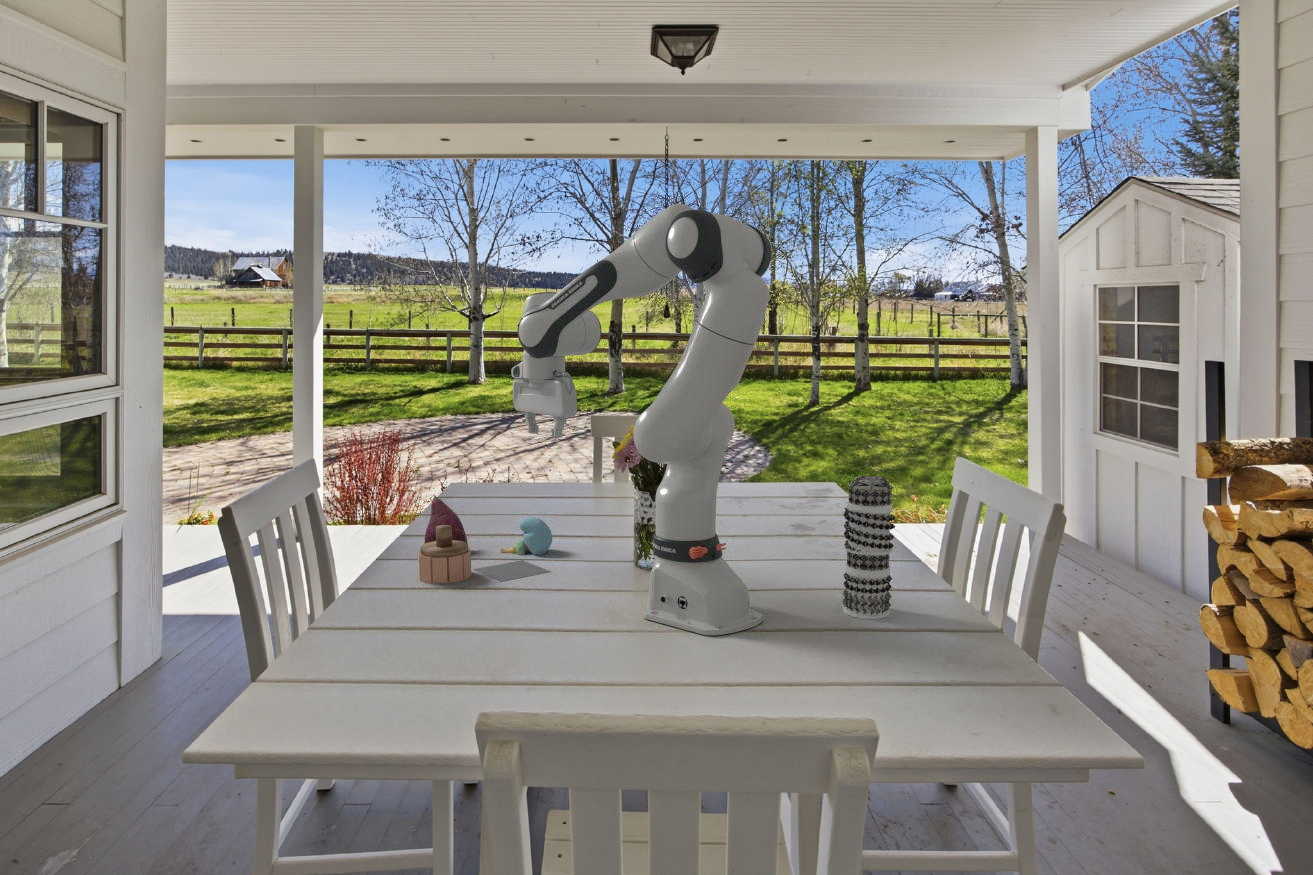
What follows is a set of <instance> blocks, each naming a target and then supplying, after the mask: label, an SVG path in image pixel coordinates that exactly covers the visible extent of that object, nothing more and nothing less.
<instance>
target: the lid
mask: <svg viewBox="0 0 1313 875" xmlns="http://www.w3.org/2000/svg"><path fill="white" fill-rule="evenodd" d="M424 543H425V542H424ZM424 543H423V544H421V545H420V546H419V547H420V550H419V551H420V553H421V554H422V555H424V556H428V557H452V556H458V555H462V554H465V553H466V552H468V548H469V542H468V543H466V542H463V541H456V540H452V526H450V525H440V526H436V541H434V542H429V543H425V544H424Z"/></svg>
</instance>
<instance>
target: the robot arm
mask: <svg viewBox="0 0 1313 875" xmlns="http://www.w3.org/2000/svg"><path fill="white" fill-rule="evenodd" d="M772 251H773V249H772V245H771V242H770V240H769V238H768V237H767V236H766V235H765V233H764V232H762V231H761V230H760V229H758V228H757V227H755V226H754V225H750V224H746V223H743V222H742V221H739V220H737V219H735V218H733V217H731V216H730V215H725V214H721V213H716V212H710V211H707V210H705V209H694V208H693V207H691V206H690V205H687V204H684V203H675V204H671V205H670V206H668V207H666V208H664V209H663V210H661V211H660V212H658V213H657V214H656V215H654V216H653V217H652V218H650V219H649V220H648V221H646V222H645V223H644V224H643V225H642V226H640V227H639V229H637V231H635V232H634V233H633V234H632V235H631V236H630V237H628V239H627V240H626V241H624V242H623V243H622V244H621V245H620V246H619V247H617V248H616V249H614V251H612V252H610V253H609V254H608V255H607V256H605V257H604V258H602V259H601V260H599V261H597V262H596V263H594V264H593V265H591V266H590V267H588V268H587V269H585V270H584V271H583V272H581V273H580V274H579V275H578V276H576V277H575V278H574V279H573V280H572V281H570V282H569V283H568V284H566V285H565V286H564V287H563V288H561V289H560V290H559V291H557V292H556V291H544V292H536V293H535V292H534V293H533V294H531V295H528V296H527V297H526V299H525V300H524V304H523V310H522V316H521V317H520V319H519V322H518V325H517V339H518V342H519V344H520V346H521V347H522V349H523V352H522V361H521V362H519V363H518V364H516V365H514V366H513V367H512V368H511V370H510V371H511V377H512V378H514V379H513V381H512V403H513V406H514V409H515V411H517V412H523V413H524V419H525V421H526V424H527V432H528V434H533V435H535V434H538V433H539V432H540V431H539V428H540V427H539V424H537V420H536V417H537V414H538V415H545V416H551V417H553V422H554V424H553V425H554V426H553V428H551V437H552V438H555V439H559V438H563V429H564V426H565V424H566V422H567V418H572V417H575V416H576V415H577V414H578V399H577V390H576V389H577V388H576V386H575V383H574V381H573V377H572V376H571V375H570V372H568V371H566V357H569V356H570V357H571V356H585V355H587V354H591V353H593V352H594V351H595V350H596V349H597V348H598V346H599V345H600V342H601V340H602V339H601V338H602V333H603V332H602V325H601V321H600V319H599V318H598V316H597V315H596V313H595V312H593V311H592V309H593V308H596V306H599V305H601V304H603V303H606V302H610V301H614V300H621V299H629V298H630V299H631V298H639V297H646V296H649V295H651V294H653V293H656V292H657V291H659V290H661V289H662V288H663V287H665V286H667V285H668V284H669V283H670V282H671V281H672V280H674V279H675V278H676V276H678V275H679V274H680V273H681V272H683V273H684V274H685V275H686V277H687V278H688V279H689V280H690V281H691V282H692V283H693V284H701V283H703V285H704V288H705V298H704V301H703V304H702V307H701V309H700V311H699V313H698V316H697V319H696V321H695V324H694V325H693V326H694V327H693V328H692V331H691V333H690V337H689V338H688V341H687V342H686V346H685V348H684V351H683V354H682V355H681V358H680V359H679V361H678V363H677V365H676V367H675V368H674V370H673V372H672V374H671V375H670V376H669V378H668V379H667V380H666V382H665V384H664V385H663V387H662V388H661V390H660V391H659V393H658V395H657V396H656V398H655V399H654V400H653V401H652V403H651V404H650V405H649V406H648V407H647V408H646V409H645V410H644V411H643V412H642V413H640V415H639V416H638V417H637V419H636V420H635V423H634V425H633V429H632V430H633V431H632V434H633V436H632V438H633V441H634V442H633V443H634V445H635V448H636V449H637V452H638V453H639V454H640V455H641V456H642V457H643V458H645V459H646V460H648V461H650V462H652V463H656V464H662V465H666V469H665V472H664V475H663V478H662V480H661V482H660V484H659V485H658V487H657V489H656V493H655V533H653V535H652V536H653V537H652V539H653V540H652V553H653V555H654V561H653V564H652V565H653V566H652V569H651V571H650V576H649V578H650V579H649V587H648V588H649V589H648V597H647V604H646V609H644V611H643V619H645V620H649V621H653V622H656V623H659V624H664V625H667V626H671V627H674V628H677V629H682V630H686V631H689V632H692V633H697V634H700V635H704V636H722V635H727V634H734V633H737V632H741V631H744V630H745V631H746V630H747V629H750V628H755V627H756V626H758V625H759V624H761V623H762V622H763V621H764V616H763V614H762V613H760V612H759V611H756V610H754V609H753V608H751V606H750V595H749V589H748V587H747V585H746V583H745V582H743V578H742V579H741V577H739V576H738V574H736V572H735V570H733V569H732V567H731V566H730V565H729V564H728V563H727V561H726V560H725V558H724V557H723V556H724V555H723V550H727V547H724V546H726V545H727V543H726V542H724V543H720V538H719V536H718V534H717V533H716V531H717V529H716V526H717V522H716V521H717V519H716V518H717V514H716V513H717V495H718V494H717V493H718V488H719V481H720V476H721V472H722V467H723V463H724V459H725V454H726V451H727V447H728V445H729V443H730V442H731V440H732V438H733V436H734V433H735V428H736V422H735V418H734V414H733V413H732V411H731V410H730V408H729V407H728V406H727V405H726V404H724V401H725V400H726V399H727V397H728V396H729V395H730V393H732V392H733V390H734V389H735V388H737V386H738V385H739V383H740V381H741V379H742V377H743V374H744V372H745V368H746V366H747V364H748V362H749V359H750V358H751V355H752V354H753V353H752V352H753V350H754V348H755V345H756V343H757V340H758V338H759V335H760V332H761V330H762V327H763V323H764V320H765V317H766V314H767V309H768V305H769V299H770V288H769V286H768V284H767V282H766V281H765V280H764V279H763V278H762V277H763V276H764V275H765V273H766V272H767V271H768V268H769V267H770V264H771V261H772Z"/></svg>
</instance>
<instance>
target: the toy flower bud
mask: <svg viewBox="0 0 1313 875" xmlns="http://www.w3.org/2000/svg"><path fill="white" fill-rule="evenodd" d="M519 528H520V531H522V532H523V533H522V534H521V536H522V539H520V540H518V541H517V542H516V543H515V544H514V545H513V547H511V548H504V547H500V548H499V551H500V553H502V554H503V553H504V554H516V555H518V556H520V555H521V556H523V555H525V554H526V552H530V553H531V554H532V555H533V556H540V555H544V554H546V553H547V551H549V549H550V547H551V545H552V542H553V534H552V533H553V532H552V530H551V529H550V527H549V526H548V524H547V523H546V522H545V521H544V520H542V519H540V518H537V517H527V518H524V519H522V520H521V521H520V523H519Z"/></svg>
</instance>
